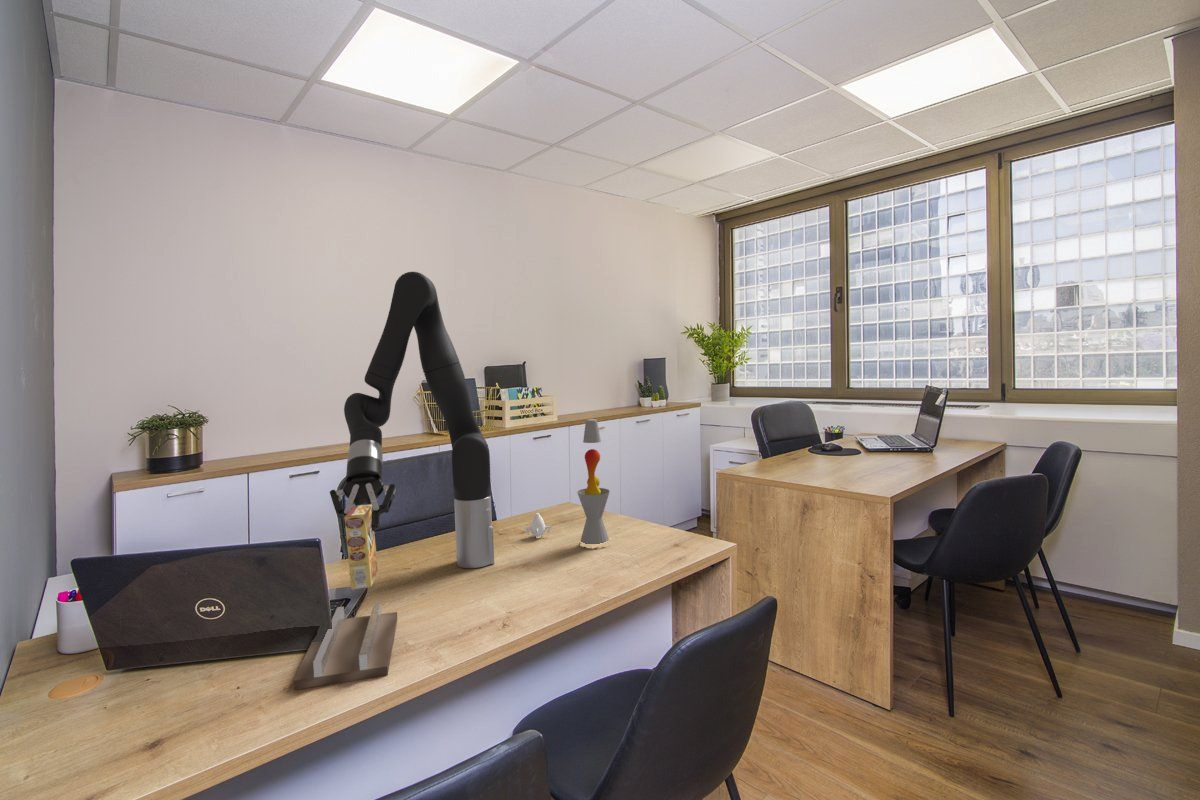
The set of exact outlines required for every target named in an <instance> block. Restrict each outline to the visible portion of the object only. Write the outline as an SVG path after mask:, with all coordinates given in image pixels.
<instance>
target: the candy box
mask: <svg viewBox="0 0 1200 800" xmlns="http://www.w3.org/2000/svg"><path fill="white" fill-rule="evenodd" d="M372 512H373V508H372V504H361V505H358V506H353V507H352V509H351V510H350V511H349V512H348V514H347V515H346V516H345V517H343V519H344V518H345V529H346V531H345V537H346V549H347V558H348V569H349V578H350V589H351V590H358V589H367V588H372V586H373V584H374V582H375V580H376V577H377V576H378V574H379V569H378V558H377V545H376V544H377V543H376V537H375V534H376V533H375V531H373V530H372ZM345 529H344V530H345Z"/></svg>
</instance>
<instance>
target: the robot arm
mask: <svg viewBox="0 0 1200 800" xmlns="http://www.w3.org/2000/svg"><path fill="white" fill-rule="evenodd" d="M392 293H393V294H392V298H391V301H390V302H391V303H390V307H389V312H388V315H387V318H386V322H385V325H384V328H383V331H382V333H381V336H380V338H379V342H378V343H377V346H376V348H375V350H374V353H373V355H372V358H371V360H370V363H369V365H368V367H367V371H366V373H365V376H364V383H365V384H366V385H368V386H369V387H371V388H374V389H375V390H377V391H378V397H375V396H371V395H368V394H366V393H361V392H354V393H352V394H349V396H348V397H347V398H346V400H345V403H344V405H343V406H344V407H343V414H344V417H345V422H346V425H347V428H348V433H349V450H348V454H347V462H346V475H345V484H344V485H343V487H342V489H339V490H336V489H331V490H330V491H329V494H330V498H331V501H332V505H333V508H334V511H335V513H336V516H337V517H338V518H339V519H341V518H343V529H344V531H345V532H346V529H345V518H344V517H345V516H346V515H347V514H348V512H349V511H350V510H351V509H352V507H353V506H359V505H370V504H372V511H373V512H372V530H373V531H374V532H376V531H377V529H379V528H380V526H381V525H380V524H381V523H380V522H381V521H380V520H381V515H382V514H383V513H385V514H387V513H389V512H390V509H391V507H392V504H393V502H394V499H395V496H396V494H397V489H396V485H395V483H391V484H389V485H388V484H387V485H386V484H384V482H383V465H384V460H383V459H384V458H383V449H382V448H383V446H382V445H383V433H382V429H381V427H382V426H384V425H385V424H386V423H387V422H388V421H389V418H390V415H391V408H392V407H391V405H392V399H393V398H392V397H393V391H394V386H395V383H396V381H397V378H398V377H399V374H400V371H401V369H402V366H403V363H404V361H405V356H406V352H407V348H408V343H409V339H410V338H411V334H412V331H413V328H414V331H415V333H416V338H417V345H418V353H419V359H420V365H421V369H422V371H423V375H424V377H425V380H426V384H427V386H428V389H429V391H430V394H431V395H432V397H433V401H434V402H435V404H436V406H437V407H438V410H439V411H440V413H441V415H442V416H443V419H444V422H445V424H446V427H447V431H448V435H449V439H450V440H449V441H450V443H451V469H452V470H451V471H452V487H453V488H452V489H453V490H452V491H453V501H454V502H453V508H454V526H455V529H454V530H455V531H454V532H455V550H456V566H458V567H460V568H464V569H478V568H483V567H487V566H489V565H494V564H495V550H494V549H495V547H494V543H495V542H494V528H493V521H492V517H493V516H492V497H491V495H492V492H491V488H492V487H491V486H492V482H491V481H492V480H491V457H490V449H489V444H488V443H487V439H486V438H485V437H484V435H483V433H482V431H481V429H480V427H479V424H478V422H477V420H476V418H475V415H474V411H473V408H472V403H471V398H470V393H469V388H468V385H467V380H466V377H465V374H464V371H463V367H462V364H461V362H460V359H459V357H458V356H459V355H458V354H457V352H456V349H455V346H454V344H453V341H452V339H451V337H450V335H449V333H448V331H447V329H446V325H445V323H444V320H443V317H442V311H441V308H440V304H439V303H440V302H439V298H438V292H437V289H436V286H435V284H434V283H433V281H431V279H430V278H428V277H427V276H426V275H424V274H423V273H421V272H418V271H408V272H405V273H403V274H401V275H400V276H398V279H396V281H395V284H394V288H393V292H392ZM383 492H384V495H385V496H384V499H383V501H382V504H379V503H378V498H379V497H380V496H381V494H382V493H383ZM343 496H345V497H346V498H347V501H346V506H345V508H342V506H341V503H340V502H341V501H342V499H343Z"/></svg>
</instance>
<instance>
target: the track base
mask: <svg viewBox="0 0 1200 800" xmlns="http://www.w3.org/2000/svg"><path fill="white" fill-rule="evenodd" d="M381 604H382V603H381V601H378V602H377V601H376V602H373V606H372V609H371V612H370V615H365V616H355V617H348V618H346V617H345V606H339V607H336V609H335V612H334V614H333V616H332V618H331V621H332V629H328V630H327V632H326V634H325V637H324V639H323V641H322V642H312V641H311V643H310V645H309V647H308V649H307V651H306V654H305V656H304V658H303V659H302V662H301V664H300V667H299V668H298V670H297V673H296V675H295V677H294V678H293V690H294V691H296V690H297V691H298V690H303V689H307V688H315V687H321V686H327V685H333V684H339V683H345V682H352V681H357V680H365V679H371V677H372V678H377V677H383V676H384V675H385V676H388V675H389V670H390V664H391V660H392V659H391V657H392V654H393V652H392V651H393V648H394V647H393V646H394V640H395V635H396V630H397V623H398V612H397V611H394V612H388V613H382V605H381Z"/></svg>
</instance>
